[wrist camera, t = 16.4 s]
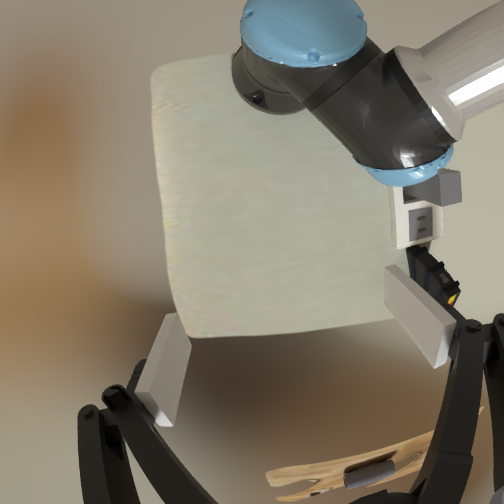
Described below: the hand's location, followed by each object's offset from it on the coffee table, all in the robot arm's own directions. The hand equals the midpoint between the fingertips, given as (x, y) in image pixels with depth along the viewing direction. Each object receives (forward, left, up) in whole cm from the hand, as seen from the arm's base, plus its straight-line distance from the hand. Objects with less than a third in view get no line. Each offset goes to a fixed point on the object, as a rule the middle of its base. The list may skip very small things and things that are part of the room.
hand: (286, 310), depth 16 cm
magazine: (+20, +30, -32) cm, 48 cm away
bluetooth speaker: (+120, +25, -32) cm, 127 cm away
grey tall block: (0, +30, -32) cm, 44 cm away
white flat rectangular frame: (+3, +30, -32) cm, 44 cm away
